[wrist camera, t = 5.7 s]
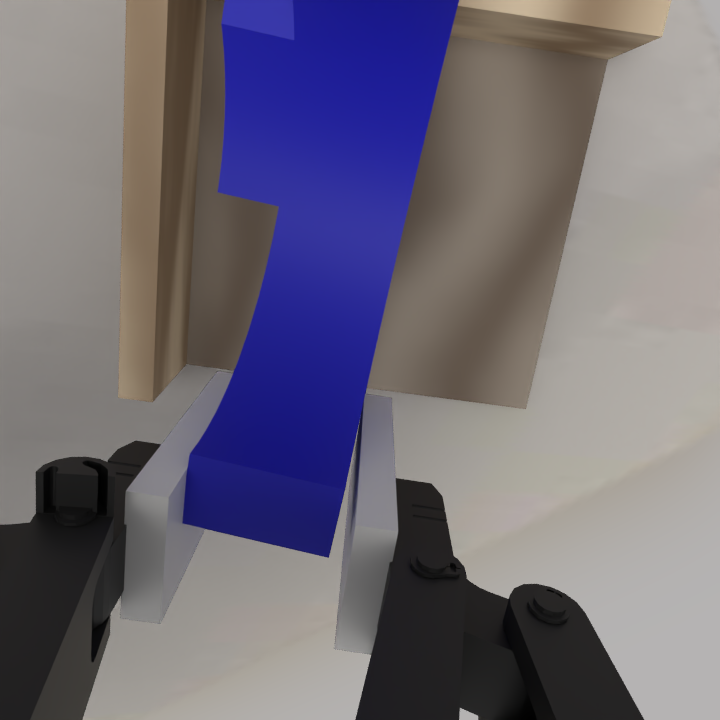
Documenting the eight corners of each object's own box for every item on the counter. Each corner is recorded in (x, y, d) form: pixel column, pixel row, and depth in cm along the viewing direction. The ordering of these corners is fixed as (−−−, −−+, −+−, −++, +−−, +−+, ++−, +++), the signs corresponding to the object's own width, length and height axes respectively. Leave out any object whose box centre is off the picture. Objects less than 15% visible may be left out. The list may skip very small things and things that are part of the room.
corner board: (161, 356, 33) (118, 397, 27) (177, -41, 27) (128, -94, 22) (523, 404, 34) (555, 454, 28) (611, 25, 28) (673, -10, 22)
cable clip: (274, -67, 15) (190, -231, 9) (462, -25, 15) (498, -163, 9) (200, 402, 18) (103, 505, 12) (353, 438, 18) (328, 557, 12)
